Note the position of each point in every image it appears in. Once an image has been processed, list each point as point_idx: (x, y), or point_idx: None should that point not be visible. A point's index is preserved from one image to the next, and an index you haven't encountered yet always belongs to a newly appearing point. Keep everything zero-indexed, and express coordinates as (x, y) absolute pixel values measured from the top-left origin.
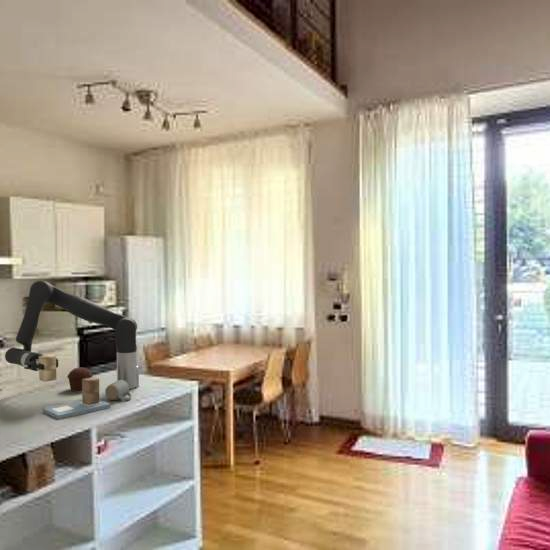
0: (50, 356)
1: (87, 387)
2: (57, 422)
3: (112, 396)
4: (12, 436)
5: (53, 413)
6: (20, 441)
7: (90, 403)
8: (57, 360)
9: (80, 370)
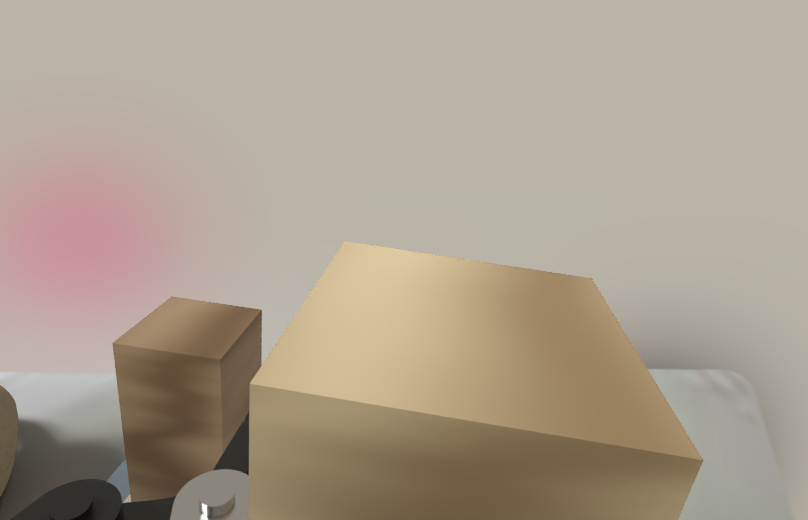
0: (442, 265)
1: (257, 358)
2: None
3: (2, 462)
4: (735, 436)
5: None
6: (697, 384)
7: None
8: (97, 490)
9: None
